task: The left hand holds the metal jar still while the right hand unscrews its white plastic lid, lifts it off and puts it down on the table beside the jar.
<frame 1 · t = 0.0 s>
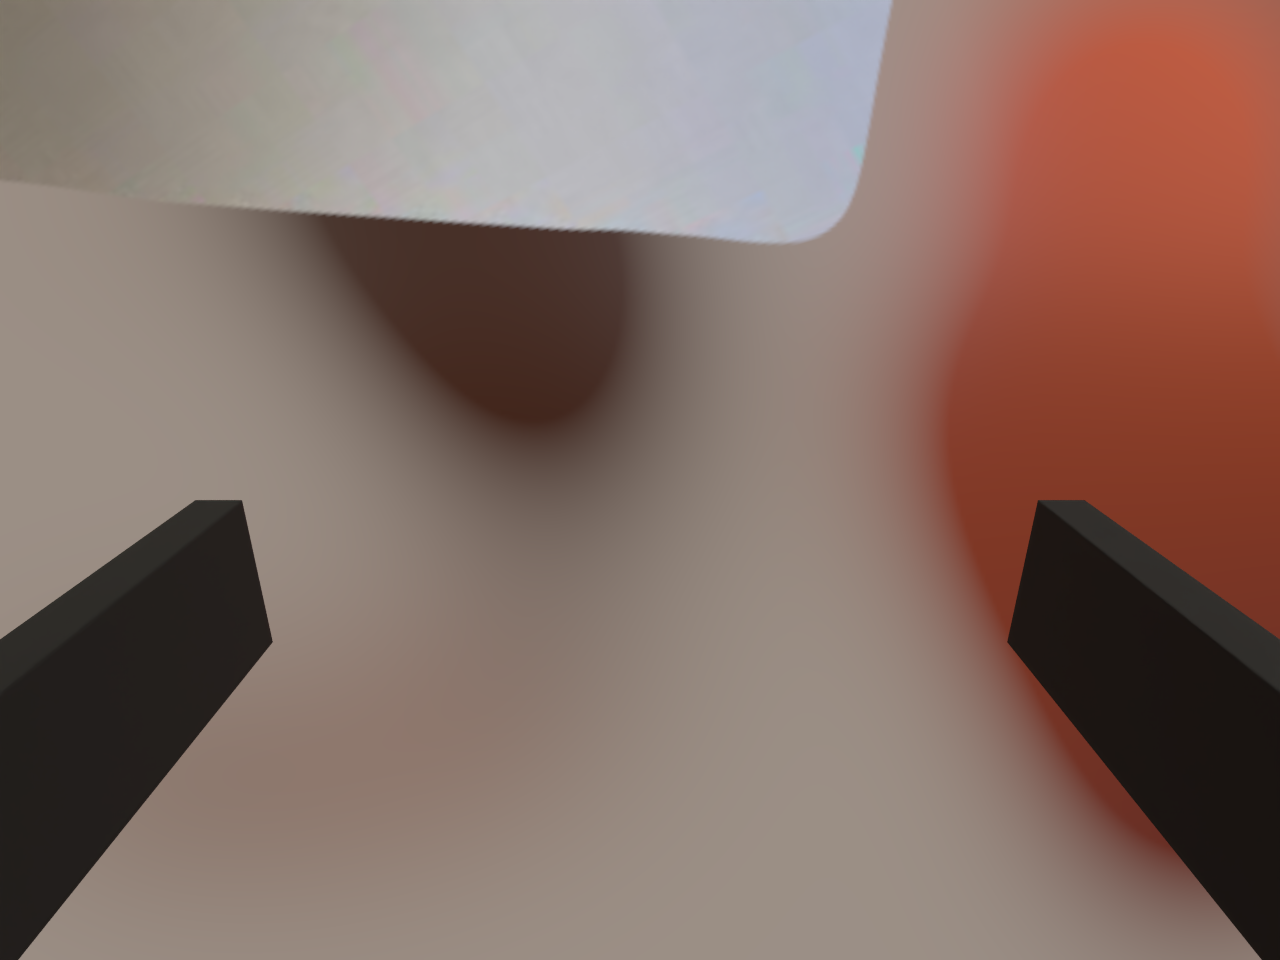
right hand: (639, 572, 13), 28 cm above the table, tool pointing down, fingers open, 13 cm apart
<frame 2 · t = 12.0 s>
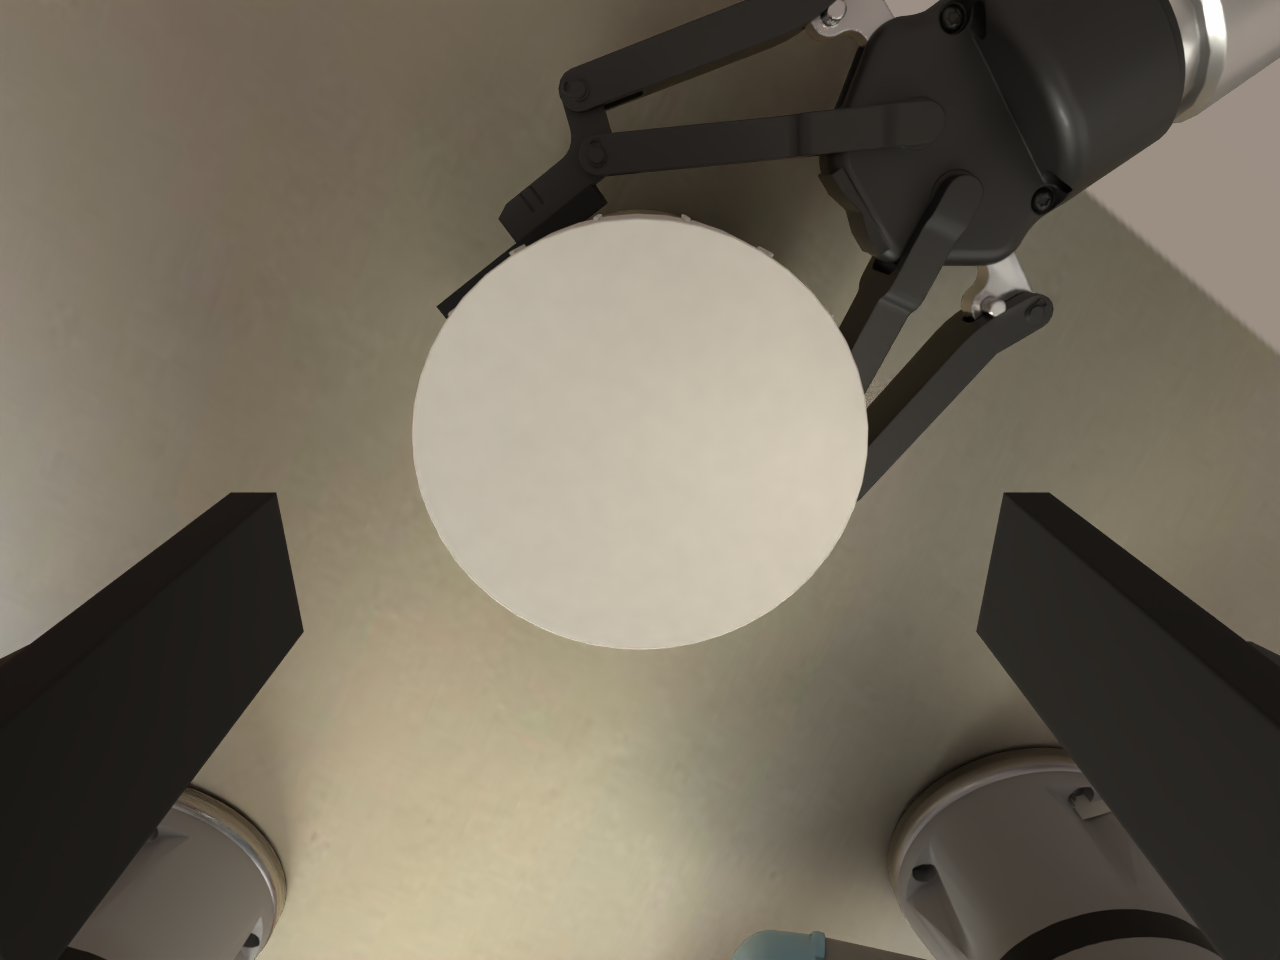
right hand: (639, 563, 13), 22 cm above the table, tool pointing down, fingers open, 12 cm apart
left hand: (549, 428, 28), fingers closed on jar, 10 cm apart
lid: (640, 453, 18), point 16 cm above the table, screwed on, not yet turned
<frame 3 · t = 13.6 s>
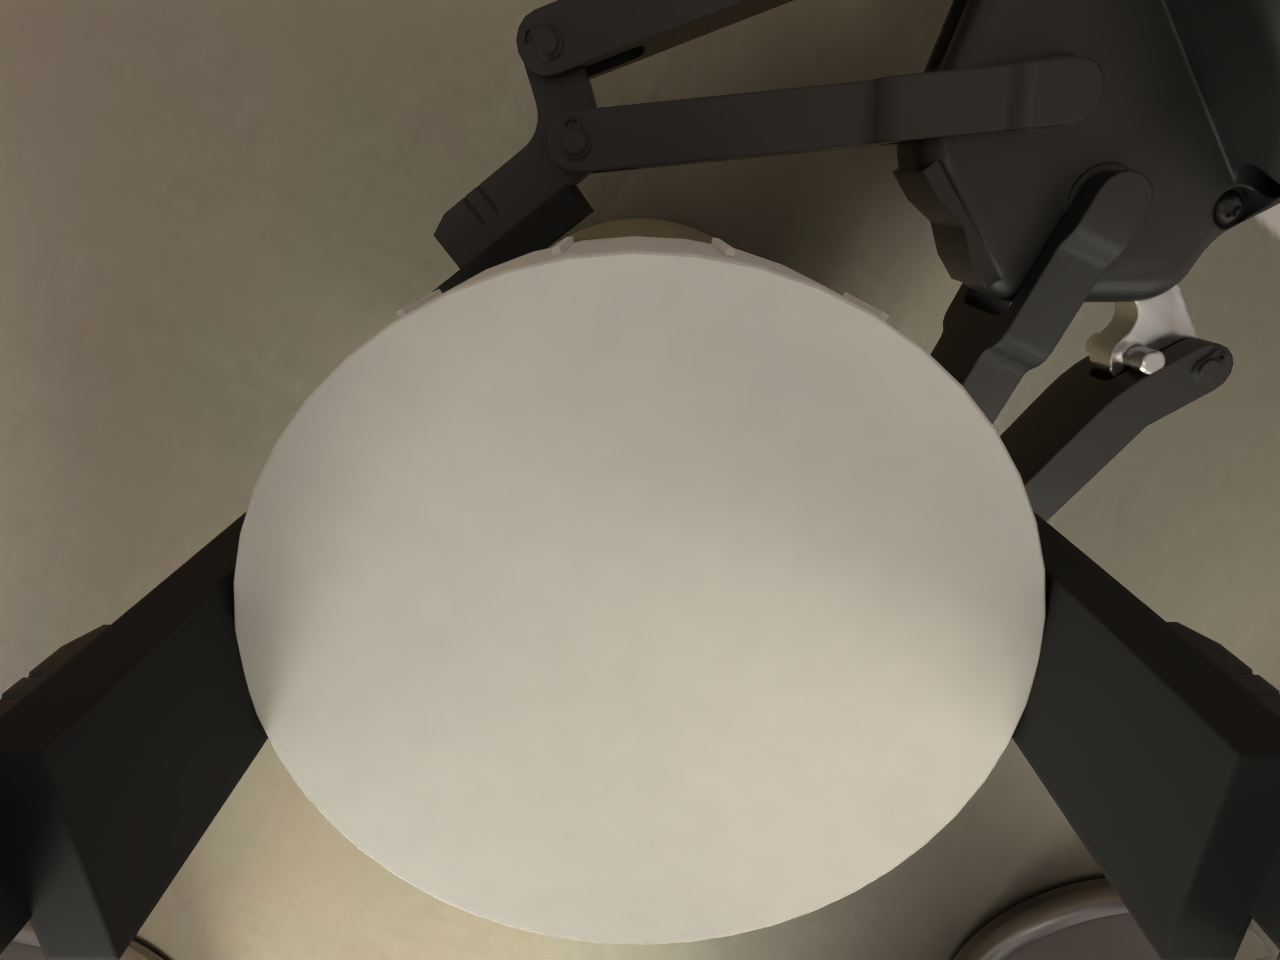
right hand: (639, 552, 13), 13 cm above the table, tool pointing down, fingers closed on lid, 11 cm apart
left hand: (514, 521, 20), fingers closed on jar, 10 cm apart
jar: (639, 376, 25), on the table, touching left hand
lid: (639, 652, 10), point 16 cm above the table, screwed on, not yet turned, touching right hand
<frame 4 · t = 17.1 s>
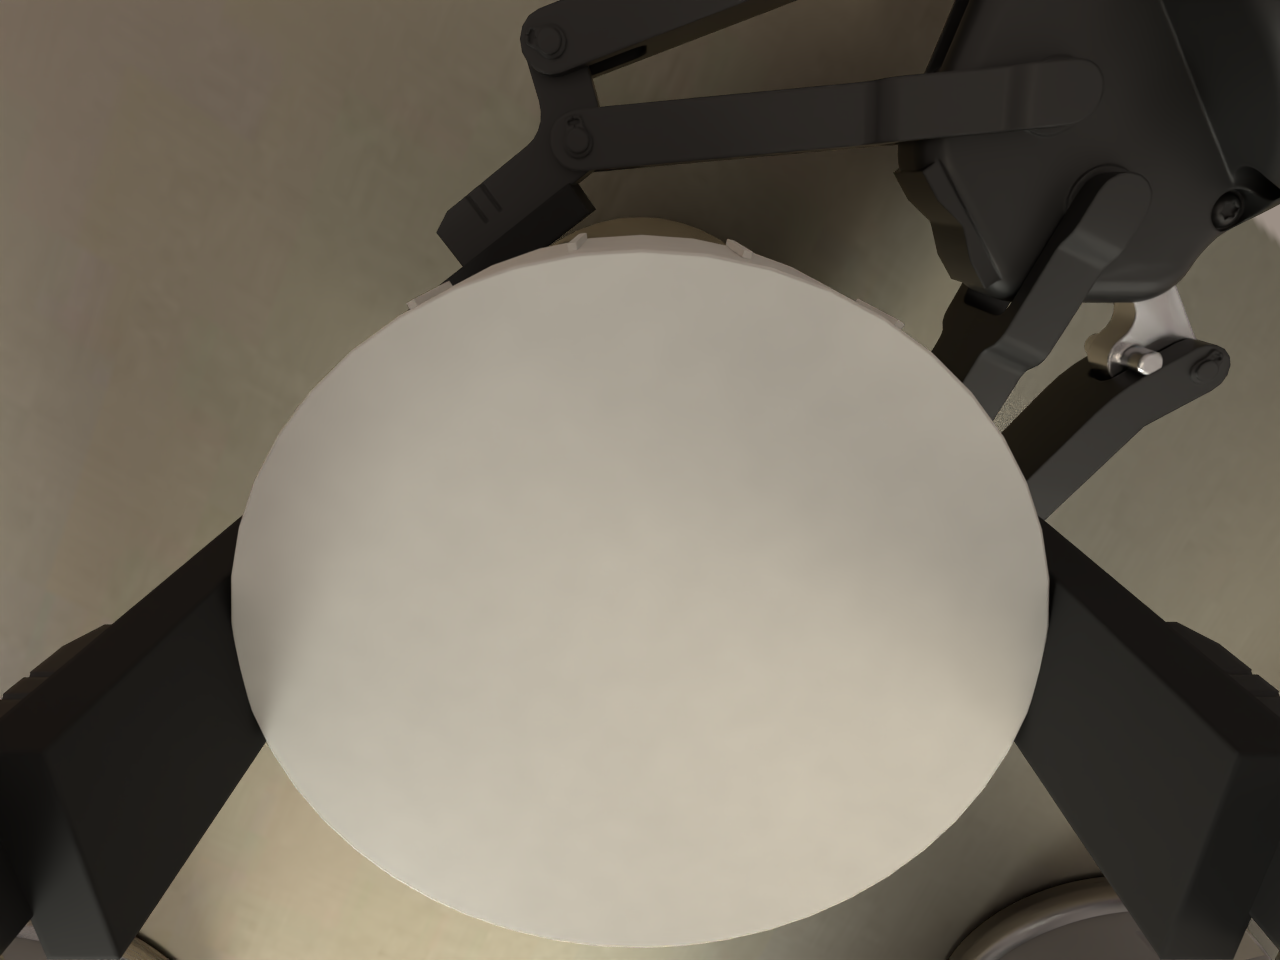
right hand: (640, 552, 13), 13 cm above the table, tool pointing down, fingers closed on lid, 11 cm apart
left hand: (515, 518, 20), fingers closed on jar, 10 cm apart
jar: (639, 374, 25), on the table, touching left hand
lid: (640, 654, 10), point 16 cm above the table, turned 104° so far, risen 0.2 cm, still on its thread, touching right hand
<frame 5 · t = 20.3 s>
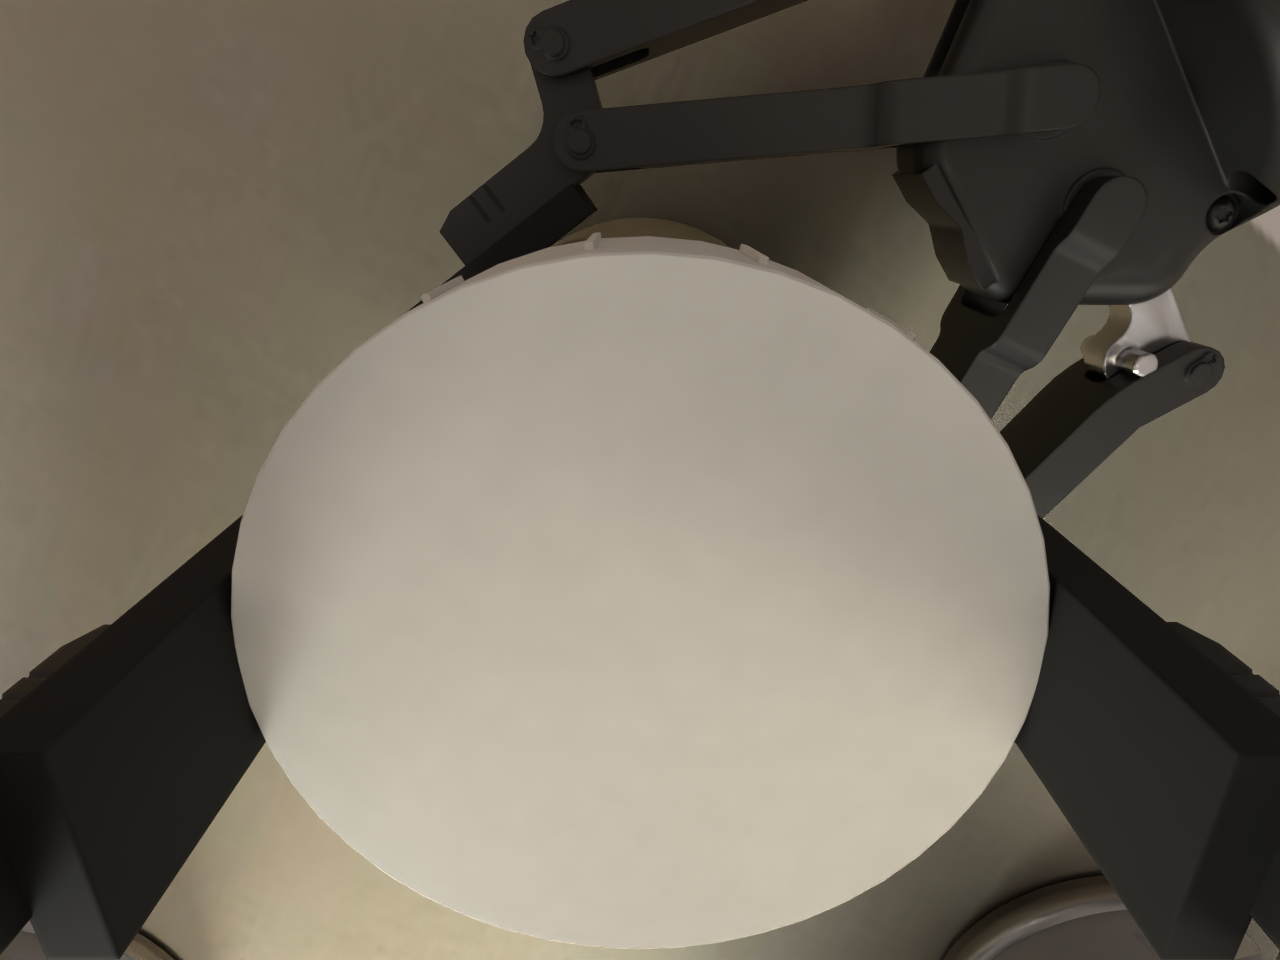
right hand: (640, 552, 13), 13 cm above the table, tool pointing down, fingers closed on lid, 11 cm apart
left hand: (515, 515, 21), fingers closed on jar, 10 cm apart
jar: (640, 374, 26), on the table, touching left hand
lid: (640, 655, 10), point 16 cm above the table, turned 208° so far, risen 0.4 cm, still on its thread, touching right hand
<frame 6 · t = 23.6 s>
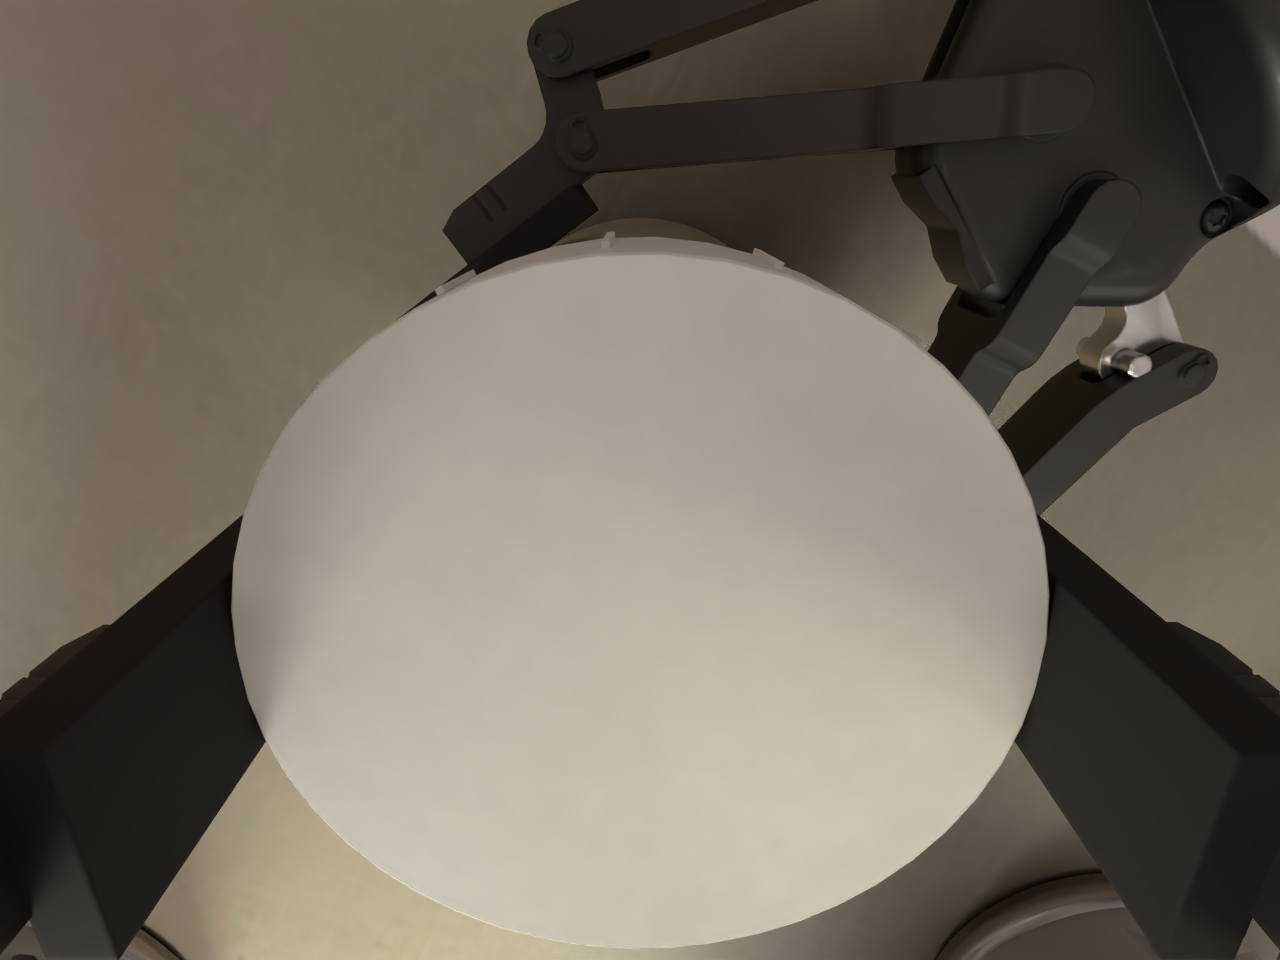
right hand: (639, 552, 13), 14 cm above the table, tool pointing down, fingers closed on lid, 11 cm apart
left hand: (516, 512, 21), fingers closed on jar, 10 cm apart
jar: (639, 373, 26), on the table, touching left hand
lid: (640, 655, 10), point 17 cm above the table, turned 312° so far, risen 0.5 cm, still on its thread, touching right hand
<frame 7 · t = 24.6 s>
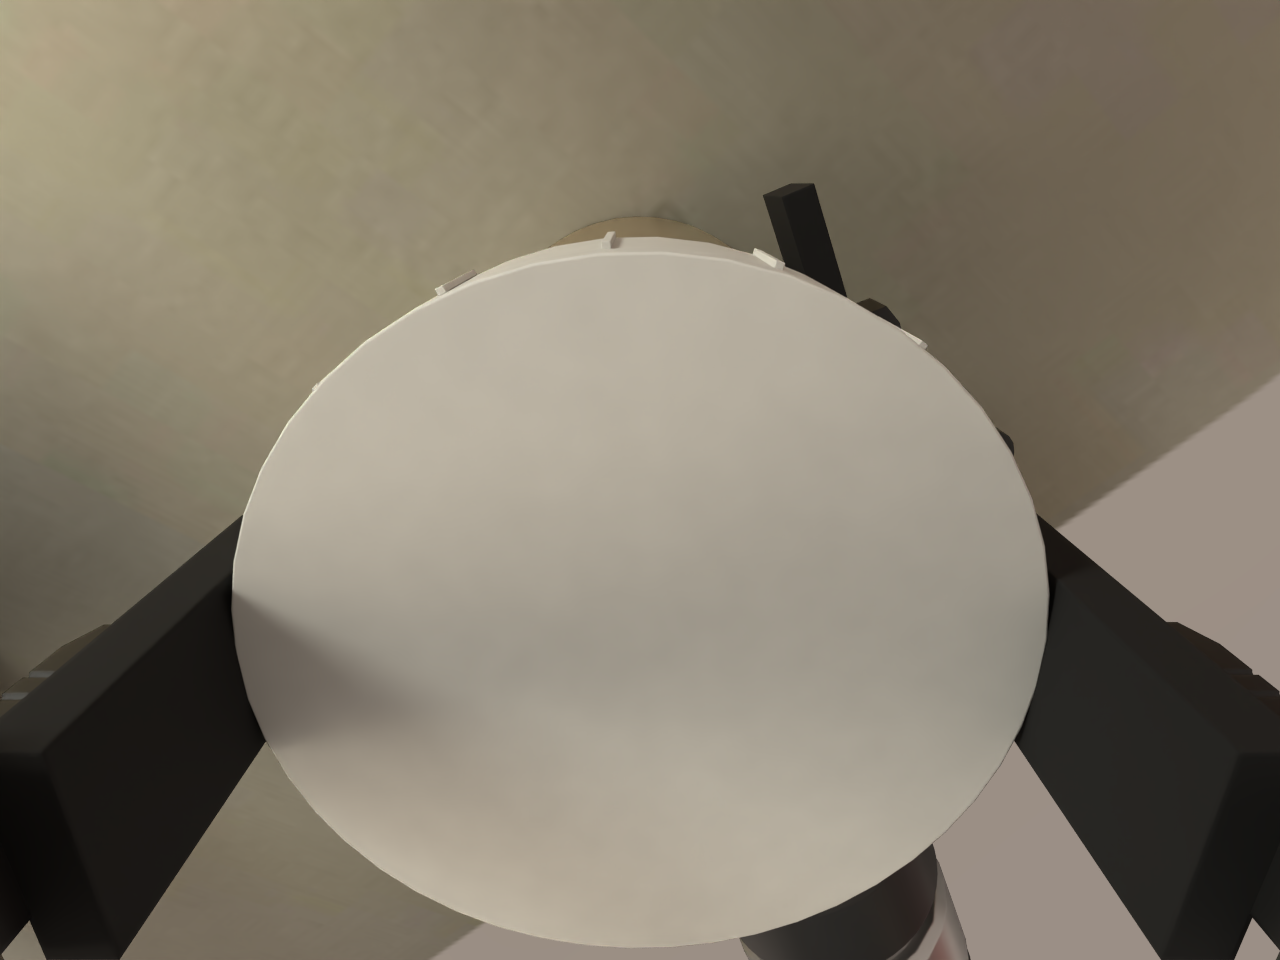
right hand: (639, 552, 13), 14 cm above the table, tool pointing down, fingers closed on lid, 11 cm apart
jar: (639, 371, 26), on the table, touching left hand
lid: (640, 655, 10), point 17 cm above the table, off its thread, touching right hand
when the right hand's fingers open (1 cm above the table, at t = 30.0 s): lid drops 2 cm, point 2 cm above the table.
when the left hand's fingers open (6 cm above the table, at t = 31.1 s): jar stays where it is, on the table.
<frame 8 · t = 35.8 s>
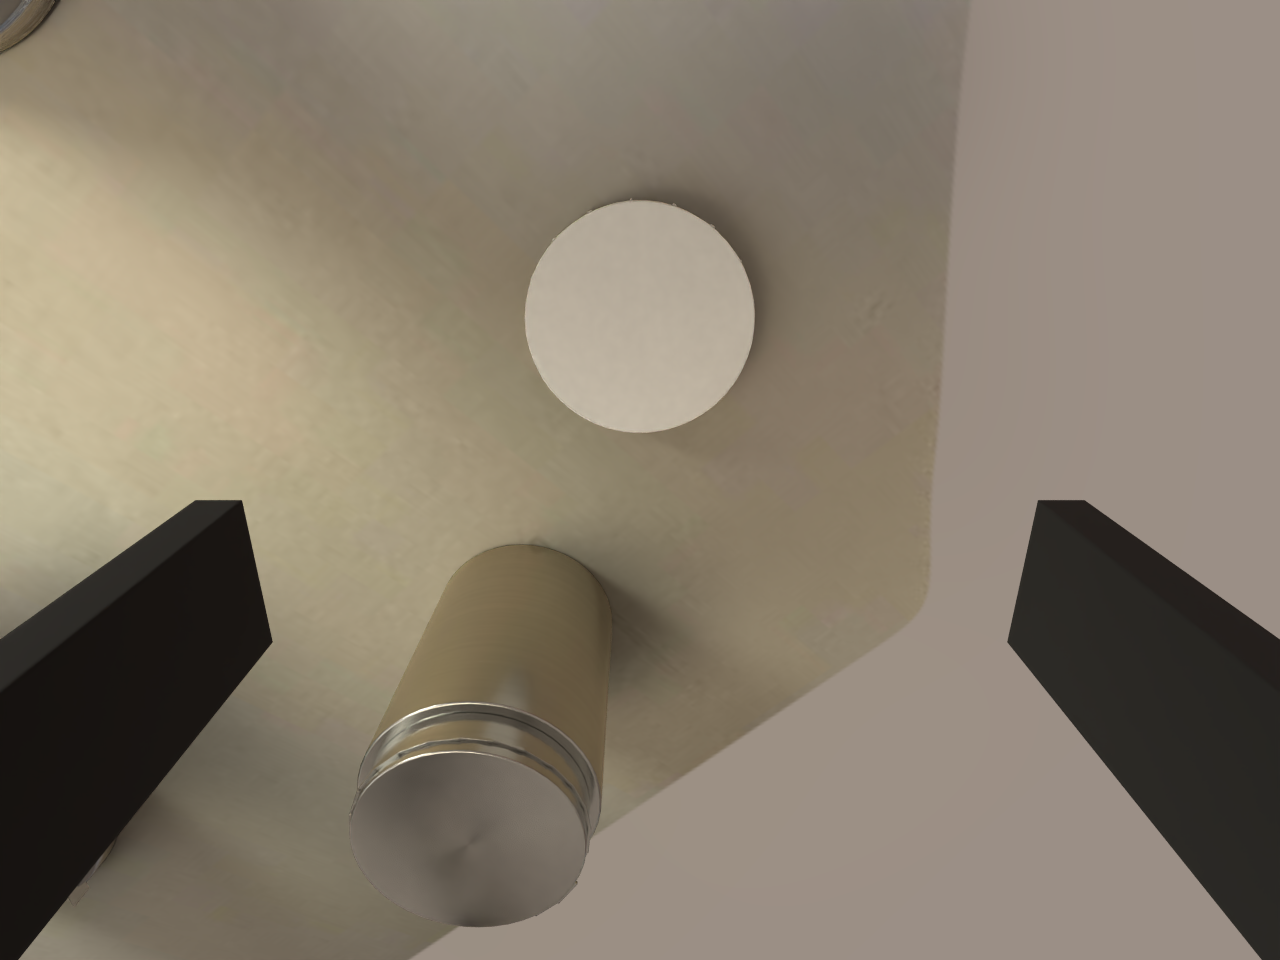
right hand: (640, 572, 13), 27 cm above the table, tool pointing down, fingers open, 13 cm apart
jar: (526, 621, 44), on the table
lid: (639, 322, 35), point 2 cm above the table, off its thread
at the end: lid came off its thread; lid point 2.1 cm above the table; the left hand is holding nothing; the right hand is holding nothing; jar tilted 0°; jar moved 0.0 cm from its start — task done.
